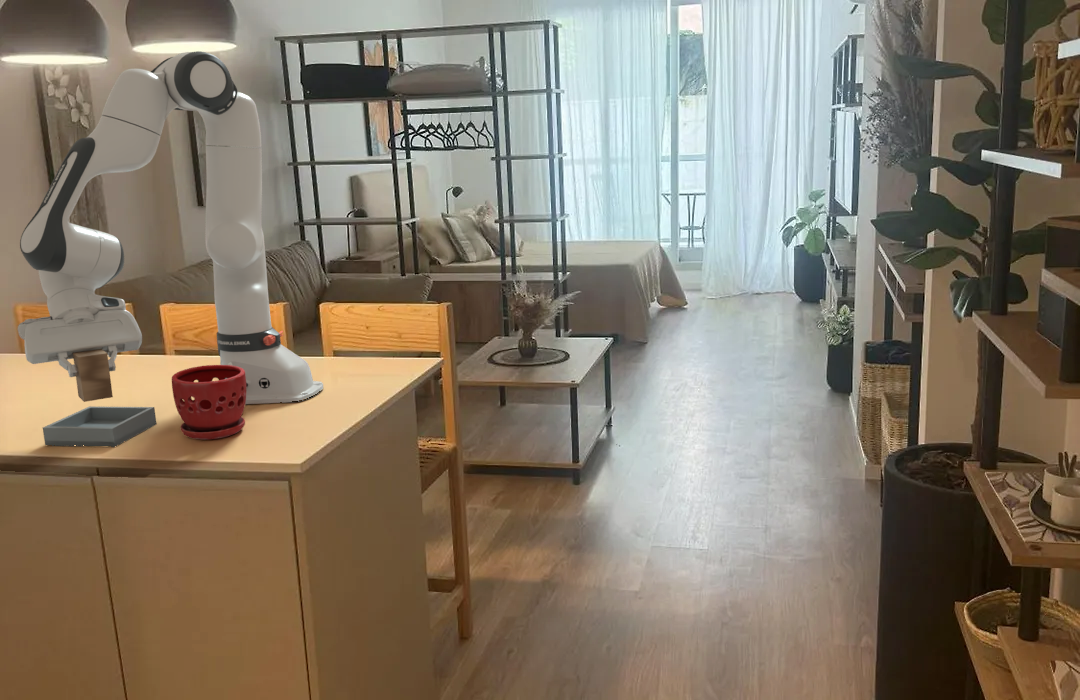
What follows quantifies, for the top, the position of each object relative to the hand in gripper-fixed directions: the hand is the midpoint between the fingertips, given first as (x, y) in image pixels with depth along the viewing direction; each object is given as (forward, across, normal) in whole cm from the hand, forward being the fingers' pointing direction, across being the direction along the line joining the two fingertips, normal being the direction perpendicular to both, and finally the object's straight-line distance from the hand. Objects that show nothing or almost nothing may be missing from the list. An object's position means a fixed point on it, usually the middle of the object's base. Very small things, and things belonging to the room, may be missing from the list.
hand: (93, 372), depth 176 cm
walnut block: (+3, 0, +4) cm, 5 cm away
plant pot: (+18, +17, -1) cm, 25 cm away
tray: (+8, 0, +9) cm, 12 cm away
